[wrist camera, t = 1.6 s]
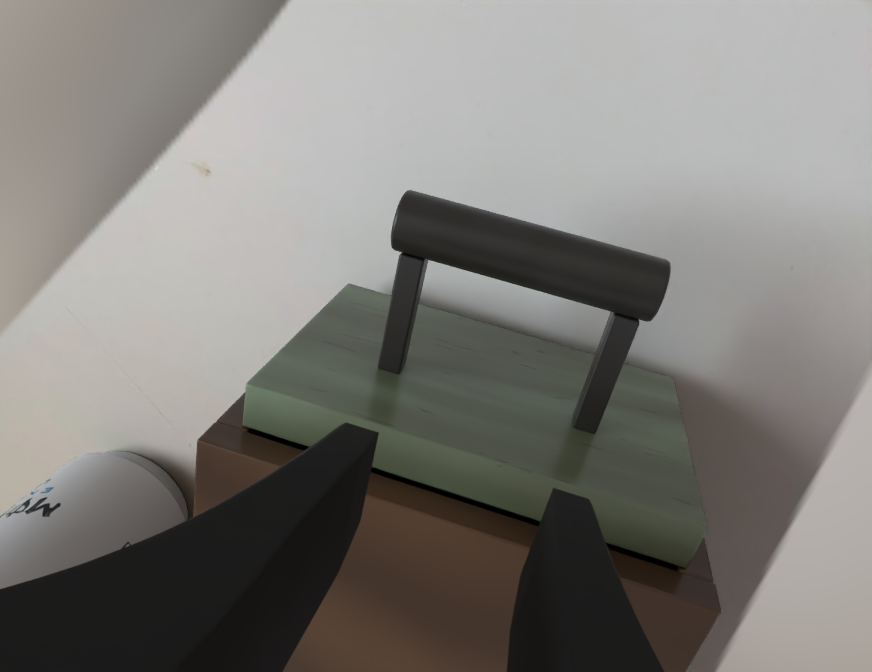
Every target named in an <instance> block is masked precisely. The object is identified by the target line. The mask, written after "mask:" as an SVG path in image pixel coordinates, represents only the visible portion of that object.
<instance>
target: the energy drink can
mask: <svg viewBox="0 0 872 672" xmlns="http://www.w3.org/2000/svg"><path fill="white" fill-rule="evenodd" d="M186 520H188V510H187V506H186V501H185V499H184V497H183V495H182V492H181V491H180V489H179V487H178V486H177V484H176V483H175V482H174V481H173V479H172V478H171V477H170V476H169V475H168V474H167V473H166V472H165V471H164V470H162V469H161V468H160V467H159V466H158V465H156V464H154V463H153V462H151V461H150V460H148V459H146V458H144V457H141V456H139V455H136V454H133V453H129V452H123V451H111V452H106V453H89V454H84V455H81V456H78V457H75V458H74V459H72V460H71V461H69V462H68V463H67V464H65V465H64V466H63V467H62V468H60V469H59V470H58V471H57V472H55V473H54V474H53V475H52V476H50V477H49V478H48V479H47V480H45V481H44V482H43V483H42V484H40V485H39V486H38V487H37V488H35V489H34V490H33V491H31V492H30V493H29V494H28V495H26V496H25V497H24V498H23V499H21V500H20V501H19V502H18V503H16V504H15V505H14V506H13V507H11V508H10V509H9V510H8V511H6V512H5V513H4V514H3V515H1V516H0V589H2V588H6V587H9V586H13V585H16V584H19V583H23V582H26V581H29V580H33V579H36V578H40V577H43V576H46V575H49V574H52V573H55V572H58V571H62V570H65V569H68V568H71V567H74V566H77V565H80V564H83V563H86V562H88V561H91V560H94V559H96V558H99V557H101V556H104V555H107V554H109V553H112V552H114V551H117V550H120V549H122V548H125V547H128V546H130V545H133V544H135V543H137V542H140V541H142V540H145V539H147V538H150V537H152V536H154V535H156V534H159V533H161V532H163V531H165V530H167V529H170V528H172V527H174V526H176V525H178V524H180V523H182V522H184V521H186Z"/></svg>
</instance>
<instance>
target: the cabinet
mask: <svg viewBox="0 0 872 672" xmlns="http://www.w3.org/2000/svg"><path fill="white" fill-rule="evenodd" d="M244 403H245V393H244V394H243V395H242V396H241V397H240V398H239V399H238V400H237V401H236V402H235V403H234V404H233V405H232V406H231V407H230V408H229V409H228V410H227V411H226V412H225V413H224V414H223V415H222V416H221V417H220V418H219V419H218V420H217V421H216V423H214V424H213V425H212V426H211V427H210V428H209V429H208V430H207V431H206V432H205V433H204V434H203V435H202V436H201V437H200V438H199V439H198V441H197V456H196V474H195V493H194V511H193V517H195V516H197V515H198V514H200V513H202V512H204V511H206V510H208V509H210V508H212V507H214V506H216V505H217V504H219V503H221V502H223V501H224V500H226V499H228V498H230V497H231V496H233V495H235V494H237V493H238V492H240V491H242V490H244V489H246V488H247V487H249V486H251V485H252V484H254V483H256V482H257V481H259V480H261V479H262V478H264V477H265V476H267V475H268V474H270V473H272V472H273V471H275V470H276V469H278V468H279V467H281V466H282V465H284V464H286V463H287V462H289V461H290V460H292V459H293V458H295V457H296V456H298V455H299V454H300V453H302V452H303V451H304V450H300V449H297V448H294V447H291V445H292V443H293V442H292V441H289V440H286V439H283V438H279V437H276V436H273V435H270V434H267V433H264V432H261V431H258V430H255V429H252V428H248V427H245V426H243V413H244ZM538 527H539V526H536V525H533V524H530V523H527V522H523V521H520V520H517V519H514V518H511V517H508V516H505V515H502V514H499V513H496V512H492V511H489V510H486V509H483V508H480V507H477V506H474V505H471V504H468V503H465V502H462V501H458V500H455V499H452V498H449V497H446V496H443V495H440V494H437V493H434V492H431V491H427V490H424V489H421V488H418V487H415V486H412V485H409V484H406V483H403V482H400V481H396V480H393V479H390V478H387V477H384V476H381V475H378V474H375V473H372V472H371V473H370V478H369V483H368V487H367V492H366V497H365V502H364V506H363V511H362V516H361V521H360V523H359V526H358V528H357V531H356V533H355V535H354V538H353V540H352V542H351V545H350V547H349V550H348V552H347V554H346V557H345V559H344V561H343V564H342V566H341V568H340V570H339V573H338V574H337V576H336V578H335V580H334V582H333V583H332V585H331V587H330V589H329V591H328V592H327V594H326V596H325V598H324V599H323V601H322V603H321V605H320V607H319V608H318V610H317V612H316V614H315V615H314V617H313V619H312V621H311V622H310V624H309V626H308V628H307V629H306V631H305V633H304V635H303V636H302V638H301V640H300V642H299V643H298V645H297V647H296V649H295V651H294V652H293V654H292V656H291V658H290V659H289V661H288V663H287V665H286V666H285V668H284V670H283V672H507V662H508V649H509V636H510V628H511V622H512V617H513V611H514V606H515V601H516V595H517V590H518V585H519V580H520V575H521V572H522V569H523V567H524V564H525V561H526V559H527V556H528V553H529V551H530V548H531V545H532V543H533V540H534V537H535V535H536V532H537V529H538ZM608 550H609V552H610V555H611V558H612V560H613V563H614V565H615V568H616V570H617V573H618V575H619V577H620V580H621V582H622V584H623V587H624V589H625V591H626V593H627V596H628V598H629V600H630V602H631V605H632V607H633V609H634V611H635V614H636V616H637V618H638V620H639V622H640V624H641V626H642V628H643V630H644V632H645V634H646V636H647V638H648V640H649V642H650V644H651V646H652V648H653V650H654V652H655V654H656V656H657V658H658V660H659V662H660V664H661V666H662V667H663V669H664V671H665V672H686V670H687V669H688V667H689V665H690V664H691V662H692V660H693V658H694V657H695V655H696V653H697V652H698V650H699V648H700V647H701V645H702V643H703V642H704V640H705V638H706V637H707V635H708V633H709V631H710V630H711V628H712V626H713V625H714V623H715V621H716V620H717V618H718V616H719V615H720V613H721V608H720V604H719V599H718V594H717V590H716V585H715V584H714V583H713V576H712V571H711V566H710V562H709V557H708V553H707V548H706V544H705V539H704V537H703V539H702V541H701V543H700V545H699V547H698V548H697V550H696V552H695V554H694V556H693V558H692V560H691V561H690V563H689V565H688V567H687V568H683V567H680V566H677V565H674V564H671V563H668V562H665V561H662V560H658V559H655V558H652V557H649V556H646V555H643V554H640V553H637V552H634V551H630V556H629V555H626V554H623V553H619V552H616V551H613V550H610V549H608Z"/></svg>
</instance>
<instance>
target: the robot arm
mask: <svg viewBox="0 0 872 672" xmlns="http://www.w3.org/2000/svg"><path fill="white" fill-rule="evenodd" d="M378 435H379V433H378V432H375V431H372V430H369V429H366V428H363V427H359V426H356V425H353V424H350V423H347V422H346V423H344V424H341V425H339V426H338V427H337V428H335V429H334V430H332V431H331V432H330V433H328V434H327V435H326V436H324V437H323V438H322V439H320V440H319V441H317V442H316V443H315V444H313V445H312V446H310V447H309V448H308V449H306V450H305V451H303V452H302V453H300V454H299V455H298V456H296V457H295V458H293V459H292V460H290V461H289V462H287V463H286V464H284V465H282V466H281V467H279V468H278V469H276V470H275V471H273V472H272V473H270V474H268V475H267V476H265V477H264V478H262V479H261V480H259V481H257V482H256V483H254V484H252V485H251V486H249V487H247V488H246V489H244V490H242V491H240V492H238V493H237V494H235V495H233V496H231V497H230V498H228V499H226V500H224V501H223V502H221V503H219V504H217V505H216V506H214V507H212V508H210V509H208V510H206V511H204V512H202V513H200V514H198V515H197V516H195V517H193V518H191V519H188V520H186V521H184V522H182V523H180V524H178V525H176V526H174V527H172V528H170V529H167V530H165V531H163V532H161V533H159V534H156V535H154V536H152V537H150V538H147V539H145V540H142V541H140V542H137V543H135V544H133V545H130V546H128V547H125V548H122V549H120V550H117V551H114V552H112V553H109V554H107V555H104V556H101V557H99V558H96V559H94V560H91V561H88V562H86V563H83V564H80V565H77V566H74V567H71V568H68V569H65V570H62V571H58V572H55V573H52V574H49V575H46V576H43V577H40V578H36V579H33V580H29V581H26V582H23V583H19V584H16V585H13V586H9V587H6V588H2V589H0V672H283V670H284V668H285V666H286V665H287V663H288V661H289V659H290V658H291V656H292V654H293V652H294V651H295V649H296V647H297V645H298V643H299V642H300V640H301V638H302V636H303V635H304V633H305V631H306V629H307V628H308V626H309V624H310V622H311V621H312V619H313V617H314V615H315V614H316V612H317V610H318V608H319V607H320V605H321V603H322V601H323V599H324V598H325V596H326V594H327V592H328V591H329V589H330V587H331V585H332V583H333V582H334V580H335V578H336V576H337V574H338V573H339V570H340V568H341V566H342V564H343V561H344V559H345V557H346V554H347V552H348V550H349V547H350V545H351V542H352V540H353V538H354V535H355V533H356V531H357V528H358V526H359V523H360V521H361V516H362V511H363V506H364V502H365V497H366V492H367V487H368V483H369V478H370V473H371V468H372V463H373V459H374V454H375V449H376V444H377V440H378ZM507 672H665V671H664V669H663V667H662V666H661V664H660V662H659V660H658V658H657V656H656V654H655V652H654V650H653V648H652V646H651V644H650V642H649V640H648V638H647V636H646V634H645V632H644V630H643V628H642V626H641V624H640V622H639V620H638V618H637V616H636V614H635V611H634V609H633V607H632V605H631V602H630V600H629V598H628V596H627V593H626V591H625V589H624V587H623V584H622V582H621V580H620V577H619V575H618V573H617V570H616V568H615V565H614V563H613V560H612V558H611V555H610V552H609V550H608V547H607V545H606V542H605V539H604V537H603V534H602V531H601V528H600V526H599V523H598V520H597V517H596V514H595V511H594V508H593V506H592V504H591V502H590V500H589V499H588V498H585V497H581V496H578V495H575V494H572V493H569V492H565V491H562V490H559V489H556V488H553V490H552V492H551V495H550V498H549V500H548V503H547V506H546V508H545V511H544V514H543V516H542V519H541V521H540V524H539V527H538V529H537V532H536V535H535V537H534V540H533V543H532V545H531V548H530V551H529V553H528V556H527V559H526V561H525V564H524V567H523V569H522V572H521V575H520V580H519V585H518V590H517V595H516V601H515V606H514V611H513V617H512V622H511V628H510V636H509V649H508V662H507Z"/></svg>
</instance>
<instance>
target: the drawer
mask: <svg viewBox="0 0 872 672" xmlns="http://www.w3.org/2000/svg"><path fill="white" fill-rule="evenodd" d="M391 246H392V248H393V249H394V250H396V251H399V252H402V253H401V254H400V256H399V260H398V265H397V270H396V275H395V280H394V285H393V290H392V295H391V296H390V295H387V294H383V293H380V292H376V291H373V290H369V289H366V288H363V287H359V286H356V285H352V284H347V285H346V286H345V287H344V288H343V289H342V290H341V291H340V292H339V293H338V294H337V295H336V296H335V297H334V298H333V299H332V300H331V301H330V302H329V303H328V304H327V305H326V306H325V307H324V308H323V309H322V310H321V311H320V312H319V313H318V314H317V315H316V316H315V317H314V318H313V319H312V320H311V321H310V322H309V323H308V324H306V325H305V326H304V327H303V328H302V329H301V330H300V331H299V332H298V333H297V334H296V335H295V336H294V337H293V338H292V339H291V340H290V341H289V342H288V343H287V344H286V345H285V346H284V347H283V348H282V349H281V350H280V351H279V352H278V353H277V354H276V355H275V356H274V357H273V358H272V359H271V360H270V361H269V362H268V363H267V364H266V365H265V366H264V367H263V368H262V369H261V370H260V371H259V372H258V373H257V374H255V375H254V376H253V377H252V378H251V379H250V380H249V381H248V382H247V384H246V392H245V403H244V413H243V426H245V427H248V428H252V429H255V430H258V431H261V432H264V433H267V434H270V435H273V436H276V437H279V438H283V439H286V440H289V441H292V442H293V443H292V445H291V447H294V448H297V449H300V450H304V451H305V450H306V449H308V448H309V447H310V446H312V445H313V444H315V443H316V442H317V441H319V440H320V439H322V438H323V437H324V436H326V435H327V434H328V433H330V432H331V431H332V430H334V429H335V428H337V427H338V426H339V425H341V424H344V423H346V422H347V423H350V424H353V425H356V426H359V427H363V428H366V429H369V430H372V431H375V432H378V433H379V435H378V440H377V444H376V449H375V454H374V459H373V463H372V468H371V472H372V473H375V474H378V475H381V476H384V477H387V478H390V479H393V480H396V481H400V482H403V483H406V484H409V485H412V486H415V487H418V488H421V489H424V490H427V491H431V492H434V493H437V494H440V495H443V496H446V497H449V498H452V499H455V500H458V501H462V502H465V503H468V504H471V505H474V506H477V507H480V508H483V509H486V510H489V511H492V512H496V513H499V514H502V515H505V516H508V517H511V518H514V519H517V520H520V521H523V522H527V523H530V524H533V525H536V526H539V524H540V521H541V519H542V516H543V514H544V511H545V508H546V506H547V503H548V500H549V498H550V495H551V492H552V490H553V488H556V489H559V490H562V491H565V492H569V493H572V494H575V495H578V496H581V497H585V498H588V499H589V500H590V502H591V504H592V506H593V508H594V511H595V514H596V517H597V520H598V523H599V526H600V528H601V531H602V534H603V537H604V539H605V542H606V545H607V547H608V549H610V550H613V551H616V552H619V553H623V554H626V555H629V556H630V551H634V552H637V553H640V554H643V555H646V556H649V557H652V558H655V559H658V560H662V561H665V562H668V563H671V564H674V565H677V566H680V567H683V568H687V567H688V565H689V563H690V561H691V560H692V558H693V556H694V554H695V552H696V550H697V548H698V547H699V545H700V543H701V541H702V539H703V537H704V535H705V533H706V532H707V530H708V526H707V522H706V518H705V513H704V509H703V505H702V500H701V496H700V492H699V487H698V483H697V479H696V474H695V470H694V466H693V461H692V457H691V453H690V448H689V444H688V440H687V435H686V431H685V427H684V422H683V418H682V413H681V409H680V405H679V400H678V396H677V392H676V387H675V383H674V379H673V378H672V377H668V376H665V375H661V374H658V373H654V372H651V371H648V370H644V369H641V368H637V367H634V366H630V365H627V364H624V361H625V359H626V356H627V354H628V351H629V349H630V346H631V344H632V341H633V339H634V336H635V333H636V331H637V328H638V326H639V319H640V320H643V321H651V320H652V319H653V318H654V316H655V315H656V314H657V312H658V310H659V308H660V306H661V304H662V301H663V299H664V296H665V293H666V290H667V286H668V282H669V278H670V262H669V261H667V260H666V259H662V258H658V257H655V256H651V255H647V254H643V253H640V252H636V251H632V250H629V249H625V248H621V247H618V246H614V245H610V244H607V243H603V242H599V241H596V240H592V239H588V238H585V237H581V236H577V235H574V234H570V233H566V232H563V231H559V230H555V229H552V228H548V227H544V226H541V225H537V224H533V223H530V222H526V221H522V220H518V219H515V218H511V217H507V216H504V215H500V214H496V213H493V212H489V211H485V210H482V209H478V208H474V207H471V206H467V205H463V204H460V203H456V202H452V201H449V200H445V199H441V198H438V197H434V196H430V195H427V194H423V193H419V192H416V191H412V190H409V191H406V192H405V193H404V195H403V197H402V198H401V200H400V202H399V205H398V208H397V211H396V214H395V217H394V221H393V226H392V232H391ZM428 260H431V261H435V262H438V263H442V264H445V265H449V266H452V267H456V268H459V269H463V270H467V271H470V272H474V273H477V274H481V275H484V276H488V277H491V278H495V279H498V280H502V281H505V282H509V283H512V284H516V285H520V286H523V287H527V288H530V289H534V290H537V291H541V292H544V293H548V294H551V295H555V296H558V297H562V298H565V299H569V300H573V301H576V302H580V303H583V304H587V305H590V306H594V307H597V308H601V309H604V310H608V311H611V313H610V316H609V318H608V321H607V324H606V326H605V329H604V332H603V335H602V337H601V340H600V343H599V345H598V348H597V351H596V353H595V355H593V354H589V353H586V352H582V351H579V350H576V349H572V348H569V347H565V346H562V345H558V344H555V343H551V342H548V341H545V340H541V339H538V338H534V337H531V336H527V335H524V334H521V333H517V332H514V331H510V330H507V329H503V328H500V327H497V326H493V325H490V324H486V323H483V322H479V321H476V320H472V319H469V318H466V317H462V316H459V315H455V314H452V313H448V312H445V311H442V310H438V309H435V308H431V307H428V306H424V305H421V304H419V299H420V295H421V290H422V286H423V281H424V277H425V272H426V268H427V263H428Z"/></svg>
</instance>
